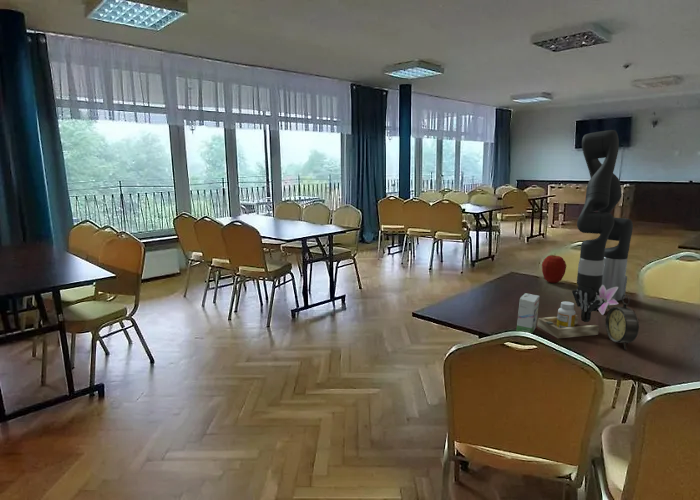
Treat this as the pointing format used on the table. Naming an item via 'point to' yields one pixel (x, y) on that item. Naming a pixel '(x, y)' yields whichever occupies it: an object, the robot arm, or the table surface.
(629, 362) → the table surface
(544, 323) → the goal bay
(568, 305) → the supplement bottle
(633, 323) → the alarm clock
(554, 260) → the apple
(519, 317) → the ink box
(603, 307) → the lily
